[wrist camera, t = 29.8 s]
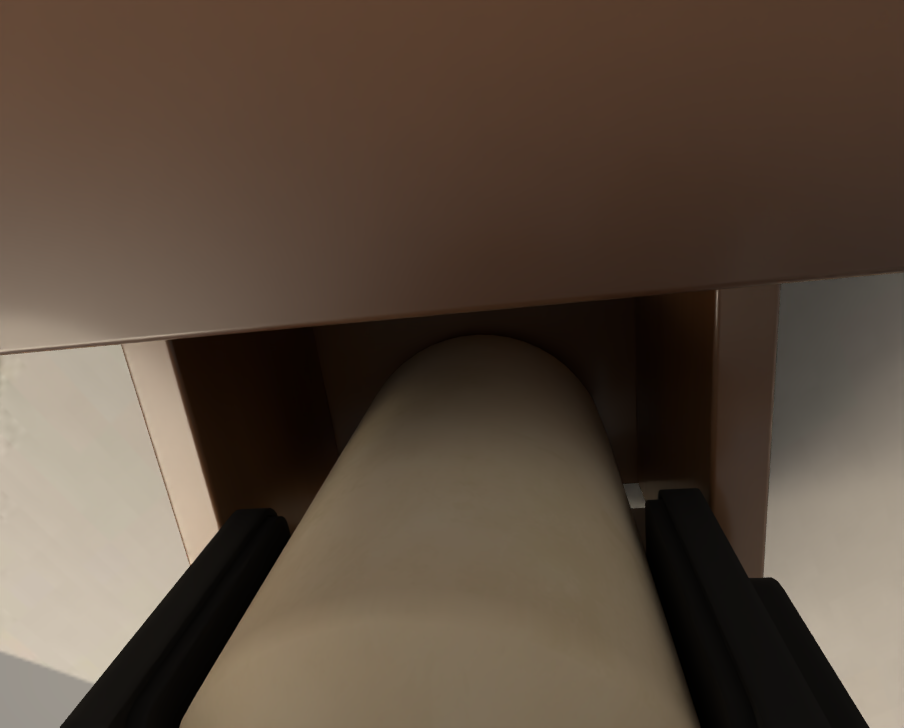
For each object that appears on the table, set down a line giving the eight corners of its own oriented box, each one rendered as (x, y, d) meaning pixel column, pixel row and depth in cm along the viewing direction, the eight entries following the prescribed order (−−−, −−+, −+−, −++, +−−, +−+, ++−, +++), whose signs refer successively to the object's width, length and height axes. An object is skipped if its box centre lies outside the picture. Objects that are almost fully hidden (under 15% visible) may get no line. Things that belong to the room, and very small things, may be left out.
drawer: (689, 674, 18) (791, 975, 11) (349, 676, 19) (262, 944, 12) (698, -29, 12) (921, -260, 5) (208, 51, 13) (-88, -54, 7)
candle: (647, 479, 14) (933, 1187, 4) (453, 575, 15) (345, 1257, 6) (521, 283, 12) (532, 664, 3) (324, 407, 14) (-79, 921, 5)
